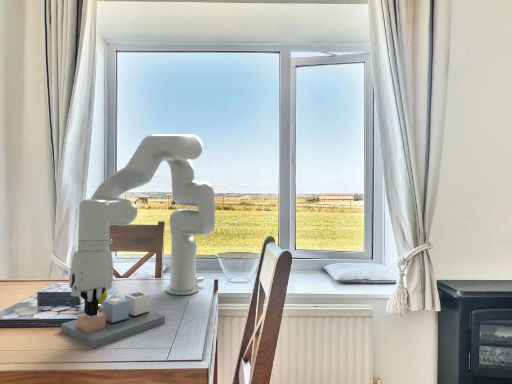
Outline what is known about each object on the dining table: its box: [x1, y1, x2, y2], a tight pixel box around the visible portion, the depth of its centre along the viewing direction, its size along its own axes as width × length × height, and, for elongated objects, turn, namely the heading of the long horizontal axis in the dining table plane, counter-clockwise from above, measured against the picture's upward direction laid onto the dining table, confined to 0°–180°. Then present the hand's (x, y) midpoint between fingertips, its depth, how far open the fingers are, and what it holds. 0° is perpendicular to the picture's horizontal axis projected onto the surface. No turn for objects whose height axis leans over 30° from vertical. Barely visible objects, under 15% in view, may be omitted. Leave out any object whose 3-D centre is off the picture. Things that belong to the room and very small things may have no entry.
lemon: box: [91, 290, 108, 305], centre depth 114 cm, size 6×6×8 cm
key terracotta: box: [77, 310, 106, 333], centre depth 94 cm, size 5×5×5 cm
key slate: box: [101, 296, 129, 324], centre depth 99 cm, size 5×5×5 cm
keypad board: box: [60, 309, 166, 350], centre depth 99 cm, size 22×16×2 cm
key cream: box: [124, 291, 150, 317], centre depth 105 cm, size 5×5×5 cm
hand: (91, 314), depth 93 cm, fingers closed
